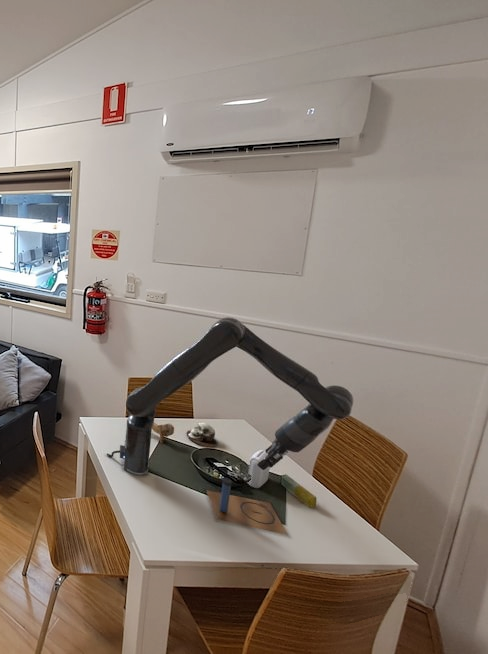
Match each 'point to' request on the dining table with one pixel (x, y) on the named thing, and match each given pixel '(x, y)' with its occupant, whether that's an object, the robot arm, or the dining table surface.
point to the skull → (202, 435)
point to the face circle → (253, 519)
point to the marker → (225, 495)
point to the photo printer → (258, 470)
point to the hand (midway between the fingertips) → (264, 460)
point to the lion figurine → (163, 430)
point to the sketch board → (250, 509)
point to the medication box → (298, 491)
